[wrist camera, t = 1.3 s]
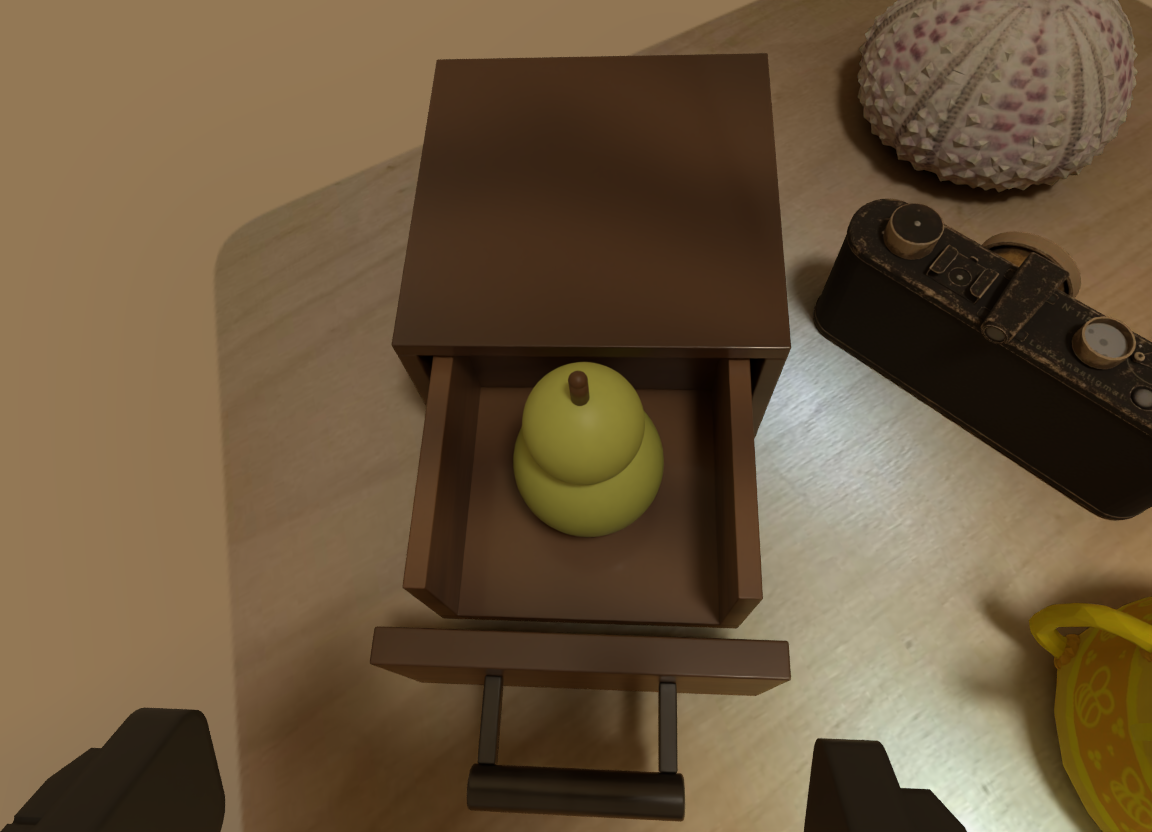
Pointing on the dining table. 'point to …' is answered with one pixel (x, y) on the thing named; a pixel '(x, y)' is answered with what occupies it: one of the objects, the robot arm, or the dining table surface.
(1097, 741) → the mug
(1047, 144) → the sea urchin shell
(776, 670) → the drawer
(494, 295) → the cabinet
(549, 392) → the pear
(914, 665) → the dining table surface
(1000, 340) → the camera
